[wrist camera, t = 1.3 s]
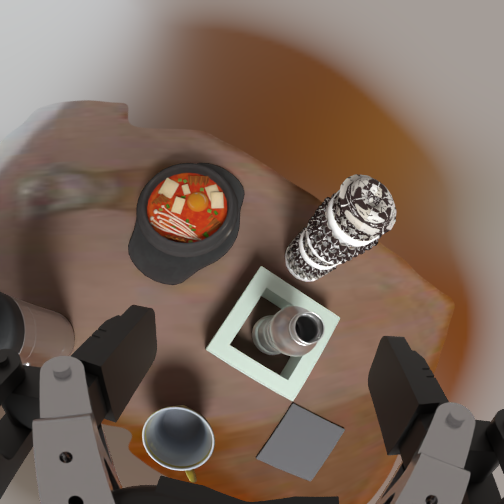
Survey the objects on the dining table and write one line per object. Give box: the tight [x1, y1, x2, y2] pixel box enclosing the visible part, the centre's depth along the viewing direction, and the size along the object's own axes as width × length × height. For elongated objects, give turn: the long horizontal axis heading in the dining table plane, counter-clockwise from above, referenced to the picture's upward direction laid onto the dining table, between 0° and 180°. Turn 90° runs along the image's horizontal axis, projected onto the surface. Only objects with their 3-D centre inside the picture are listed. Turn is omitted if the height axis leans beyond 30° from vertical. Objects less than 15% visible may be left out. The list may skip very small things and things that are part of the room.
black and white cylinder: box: [285, 175, 396, 282], centre depth 45 cm, size 9×9×25 cm
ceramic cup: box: [142, 405, 215, 482], centre depth 39 cm, size 13×10×10 cm
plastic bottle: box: [252, 306, 325, 357], centre depth 41 cm, size 6×7×20 cm
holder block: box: [206, 266, 340, 401], centre depth 48 cm, size 16×16×6 cm
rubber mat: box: [256, 403, 345, 481], centre depth 45 cm, size 12×12×1 cm
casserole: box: [128, 163, 244, 285], centre depth 51 cm, size 25×19×8 cm
